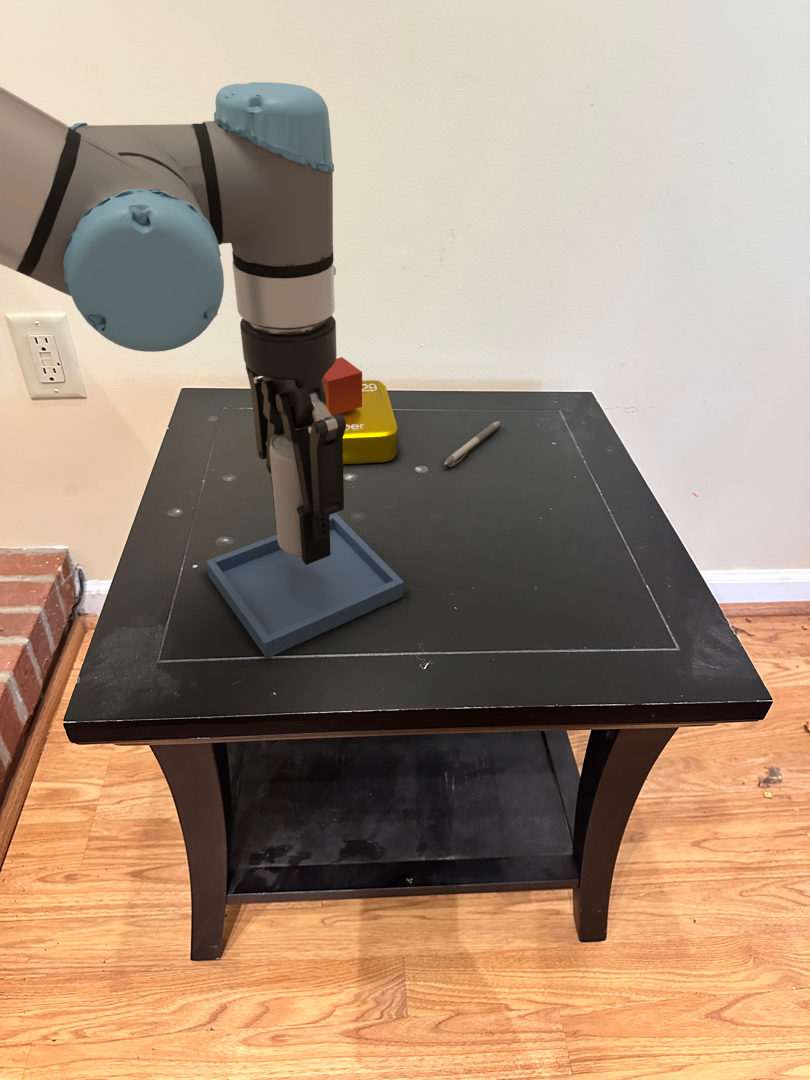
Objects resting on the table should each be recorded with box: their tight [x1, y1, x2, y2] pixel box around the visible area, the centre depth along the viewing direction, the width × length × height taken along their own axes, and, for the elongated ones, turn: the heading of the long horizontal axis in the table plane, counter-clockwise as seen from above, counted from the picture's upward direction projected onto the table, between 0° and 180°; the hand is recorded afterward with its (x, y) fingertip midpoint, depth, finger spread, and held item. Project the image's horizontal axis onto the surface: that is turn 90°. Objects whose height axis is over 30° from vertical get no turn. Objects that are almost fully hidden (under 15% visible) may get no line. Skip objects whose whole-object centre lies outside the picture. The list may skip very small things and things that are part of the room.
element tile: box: [304, 380, 398, 465], centre depth 98 cm, size 15×15×5 cm
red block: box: [322, 356, 363, 416], centre depth 94 cm, size 5×5×5 cm
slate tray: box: [205, 512, 405, 659], centre depth 75 cm, size 16×14×2 cm
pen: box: [443, 420, 501, 468], centre depth 98 cm, size 1×14×1 cm, turn 144°
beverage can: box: [270, 429, 304, 557], centre depth 69 cm, size 5×5×12 cm
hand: (302, 542), depth 72 cm, fingers closed on beverage can, 5 cm apart
